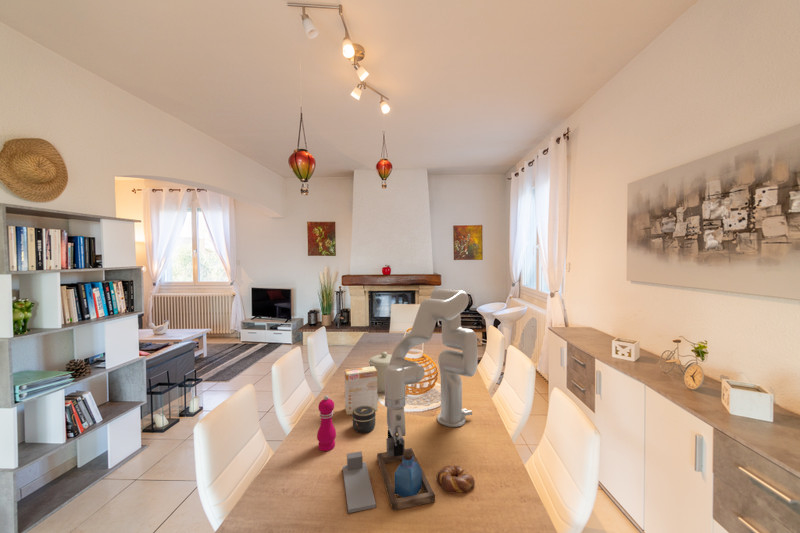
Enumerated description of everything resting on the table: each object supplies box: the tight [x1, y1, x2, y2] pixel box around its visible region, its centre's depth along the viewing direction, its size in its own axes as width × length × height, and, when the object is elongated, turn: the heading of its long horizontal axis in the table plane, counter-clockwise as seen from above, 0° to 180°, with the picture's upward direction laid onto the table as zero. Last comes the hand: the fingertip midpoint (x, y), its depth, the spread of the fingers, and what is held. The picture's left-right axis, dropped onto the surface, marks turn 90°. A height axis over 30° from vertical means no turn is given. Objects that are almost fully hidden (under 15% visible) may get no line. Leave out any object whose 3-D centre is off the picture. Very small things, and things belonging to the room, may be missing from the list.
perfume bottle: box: [393, 450, 423, 498], centre depth 99 cm, size 6×6×12 cm
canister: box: [368, 351, 392, 394], centre depth 177 cm, size 18×18×21 cm
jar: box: [351, 406, 376, 434], centre depth 136 cm, size 10×10×8 cm
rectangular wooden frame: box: [376, 437, 436, 511], centre depth 104 cm, size 13×24×7 cm, turn 15°
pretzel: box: [436, 465, 476, 494], centre depth 102 cm, size 12×11×4 cm
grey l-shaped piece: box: [342, 451, 377, 514], centre depth 101 cm, size 8×20×5 cm, turn 15°
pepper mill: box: [316, 394, 337, 452], centre depth 122 cm, size 7×7×20 cm
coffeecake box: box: [344, 366, 378, 416], centre depth 153 cm, size 15×7×20 cm, turn 108°
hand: (395, 447), depth 114 cm, fingers open, 9 cm apart
